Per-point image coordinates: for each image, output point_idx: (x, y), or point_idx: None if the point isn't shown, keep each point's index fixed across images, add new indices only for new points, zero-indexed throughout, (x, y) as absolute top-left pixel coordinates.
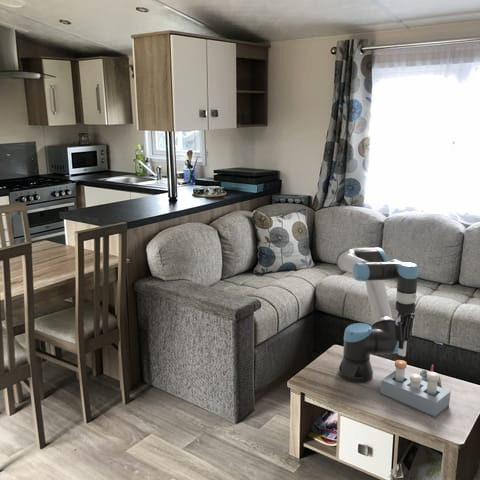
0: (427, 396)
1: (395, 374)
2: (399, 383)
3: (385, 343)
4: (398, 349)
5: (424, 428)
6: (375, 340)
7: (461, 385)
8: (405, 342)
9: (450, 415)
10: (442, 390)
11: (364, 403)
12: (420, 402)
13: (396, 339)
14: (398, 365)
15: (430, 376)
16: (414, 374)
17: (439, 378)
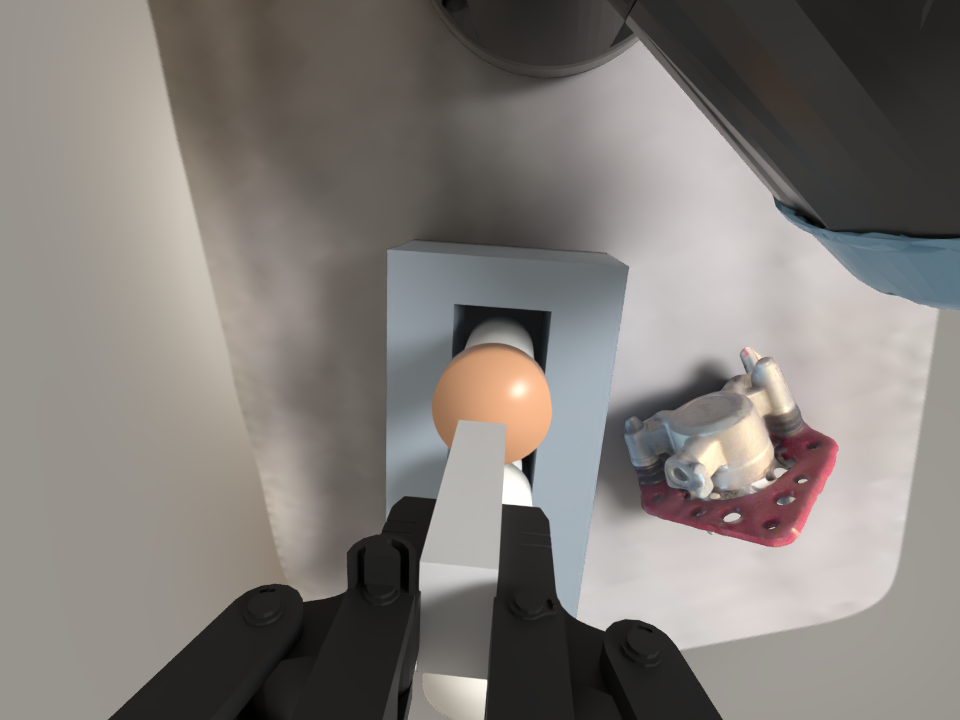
0: None
1: (476, 336)
2: (436, 381)
3: (735, 89)
4: (449, 460)
5: (299, 544)
6: None
7: (849, 556)
8: (442, 660)
9: None
10: None
11: (255, 213)
12: None
13: (226, 626)
14: (432, 408)
15: (424, 681)
16: (509, 494)
17: (779, 502)
